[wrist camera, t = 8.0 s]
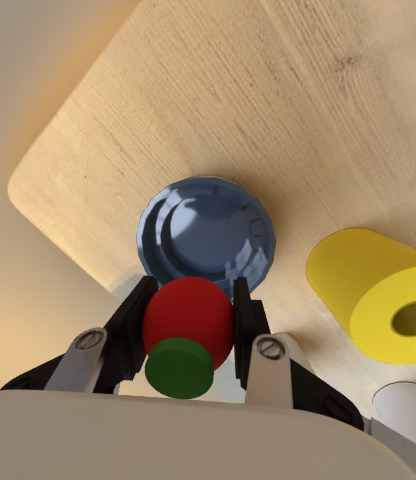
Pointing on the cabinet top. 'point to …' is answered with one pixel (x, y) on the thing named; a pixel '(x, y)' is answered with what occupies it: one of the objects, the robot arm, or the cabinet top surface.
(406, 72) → the cabinet top surface
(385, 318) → the yellow toilet paper roll
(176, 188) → the bowl
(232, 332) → the toy tomato
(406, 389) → the vase
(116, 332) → the robot arm
